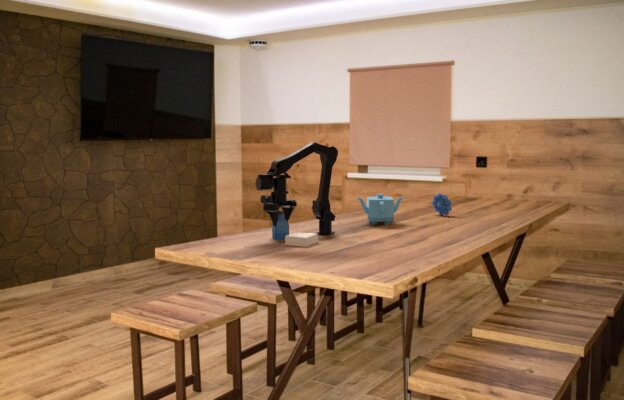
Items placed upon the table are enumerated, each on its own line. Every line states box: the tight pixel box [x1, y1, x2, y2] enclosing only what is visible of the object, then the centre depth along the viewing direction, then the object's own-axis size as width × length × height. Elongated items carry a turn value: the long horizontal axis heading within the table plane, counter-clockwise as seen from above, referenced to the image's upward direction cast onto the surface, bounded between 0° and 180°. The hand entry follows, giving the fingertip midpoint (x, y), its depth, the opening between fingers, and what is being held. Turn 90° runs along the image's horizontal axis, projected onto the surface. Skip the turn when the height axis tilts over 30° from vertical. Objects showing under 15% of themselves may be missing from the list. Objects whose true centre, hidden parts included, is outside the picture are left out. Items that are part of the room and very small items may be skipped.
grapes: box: [431, 192, 453, 216], centre depth 322 cm, size 12×7×12 cm, turn 52°
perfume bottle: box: [271, 210, 290, 241], centre depth 259 cm, size 6×6×12 cm
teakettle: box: [355, 193, 406, 226], centre depth 299 cm, size 19×19×15 cm
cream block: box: [284, 231, 319, 248], centre depth 248 cm, size 10×10×4 cm
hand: (280, 224), depth 259 cm, fingers open, 9 cm apart
